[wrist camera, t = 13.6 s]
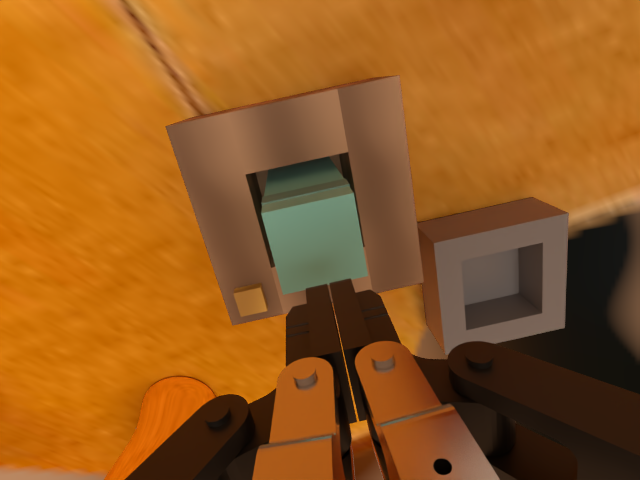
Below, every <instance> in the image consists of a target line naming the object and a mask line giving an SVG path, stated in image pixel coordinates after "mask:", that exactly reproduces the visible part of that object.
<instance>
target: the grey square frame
mask: <svg viewBox="0 0 640 480" xmlns="http://www.w3.org/2000/svg"><path fill="white" fill-rule="evenodd" d="M568 216H569V213H567V212H565V211H563V210H560V209H558V208H556V207H554V206H551V205H549V204H547V203H544V202H542V201H540V200H538V199H535V198H533V197H531V198H527V199H522V200H518V201H513V202H509V203H504V204H500V205H495V206H491V207H486V208H482V209H477V210H473V211H468V212H464V213H459V214H455V215H451V216H446V217H442V218H437V219H433V220H428V221H424V222H419V223H417V229H418V237H419V246H420V254H421V263H422V271H423V280H424V283H422V290H423V298H424V306H425V315H426V323H427V326H428V327H429V329H430V331H431V332H432V334H433V335H434V337H435V339H436V341H437V342H438V344H439V345H440V347H441V349H442V350H443V352H444V354H445V355H446V354H449V353H450V351H451V350H452V349H453V348H454V347H456V346H458V345H460V344H462V343H465V342H471V341H484V342H489V343H493V344H495V343H499V342H504V341H507V340H512V339H517V338H521V337H526V336H530V335H535V334H539V333H543V332H548V331H552V330H557V329H561V328H564V327H565V302H566V273H567V244H568Z"/></svg>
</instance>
